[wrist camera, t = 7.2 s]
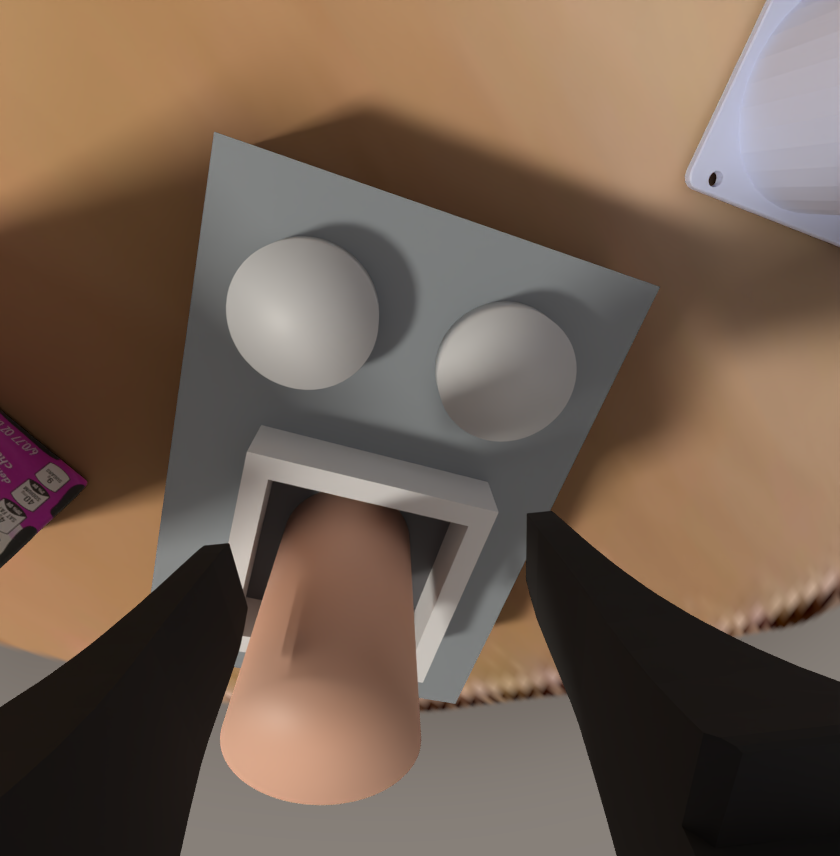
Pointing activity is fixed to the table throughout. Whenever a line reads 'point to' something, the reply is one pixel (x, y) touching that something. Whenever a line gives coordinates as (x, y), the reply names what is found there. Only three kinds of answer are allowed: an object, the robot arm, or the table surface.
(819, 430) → the table surface
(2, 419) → the candy bar box
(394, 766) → the peach tapered capsule
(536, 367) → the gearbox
